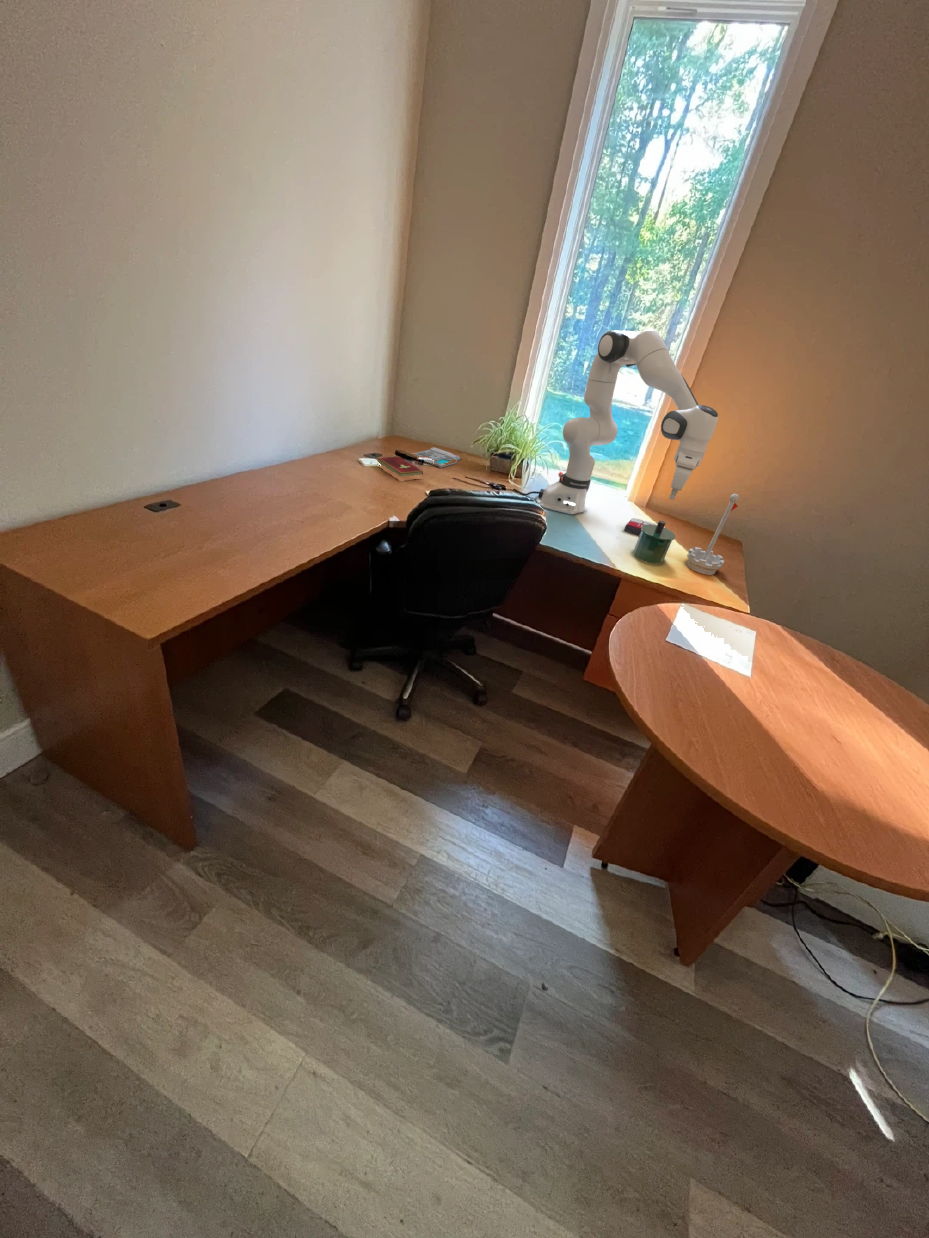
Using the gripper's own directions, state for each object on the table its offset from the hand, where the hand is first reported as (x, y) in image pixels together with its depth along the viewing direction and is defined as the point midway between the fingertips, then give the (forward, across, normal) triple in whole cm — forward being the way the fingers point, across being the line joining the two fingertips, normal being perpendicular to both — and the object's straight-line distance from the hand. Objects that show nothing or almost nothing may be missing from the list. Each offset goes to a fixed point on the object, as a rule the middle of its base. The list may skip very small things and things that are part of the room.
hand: (672, 495), depth 177 cm
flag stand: (+26, -6, +20) cm, 33 cm away
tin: (+26, 0, 0) cm, 26 cm away
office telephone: (+27, -39, -114) cm, 124 cm away
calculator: (+26, -23, -5) cm, 35 cm away
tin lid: (+15, 0, 0) cm, 15 cm away
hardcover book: (+27, -7, -117) cm, 121 cm away
